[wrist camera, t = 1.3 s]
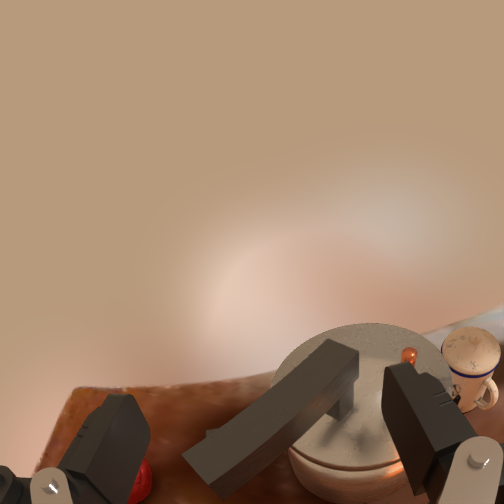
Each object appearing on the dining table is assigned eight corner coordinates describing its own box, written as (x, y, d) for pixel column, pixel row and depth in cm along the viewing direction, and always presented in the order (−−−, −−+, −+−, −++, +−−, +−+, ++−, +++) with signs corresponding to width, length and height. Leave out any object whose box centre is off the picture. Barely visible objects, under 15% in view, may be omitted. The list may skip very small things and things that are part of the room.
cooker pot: (393, 379, 40) (399, 319, 35) (445, 468, 24) (476, 419, 19) (227, 425, 40) (201, 373, 35) (236, 532, 23) (200, 506, 19)
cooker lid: (342, 316, 39) (337, 254, 35) (472, 360, 25) (490, 290, 21) (177, 448, 25) (134, 391, 21) (316, 575, 11) (307, 571, 7)
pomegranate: (168, 505, 28) (133, 478, 24) (106, 518, 25) (65, 491, 21) (154, 452, 36) (124, 418, 33) (99, 467, 34) (65, 434, 30)
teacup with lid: (420, 384, 37) (431, 326, 33) (464, 361, 38) (479, 303, 33) (457, 440, 26) (485, 387, 22) (503, 409, 27) (532, 352, 22)
